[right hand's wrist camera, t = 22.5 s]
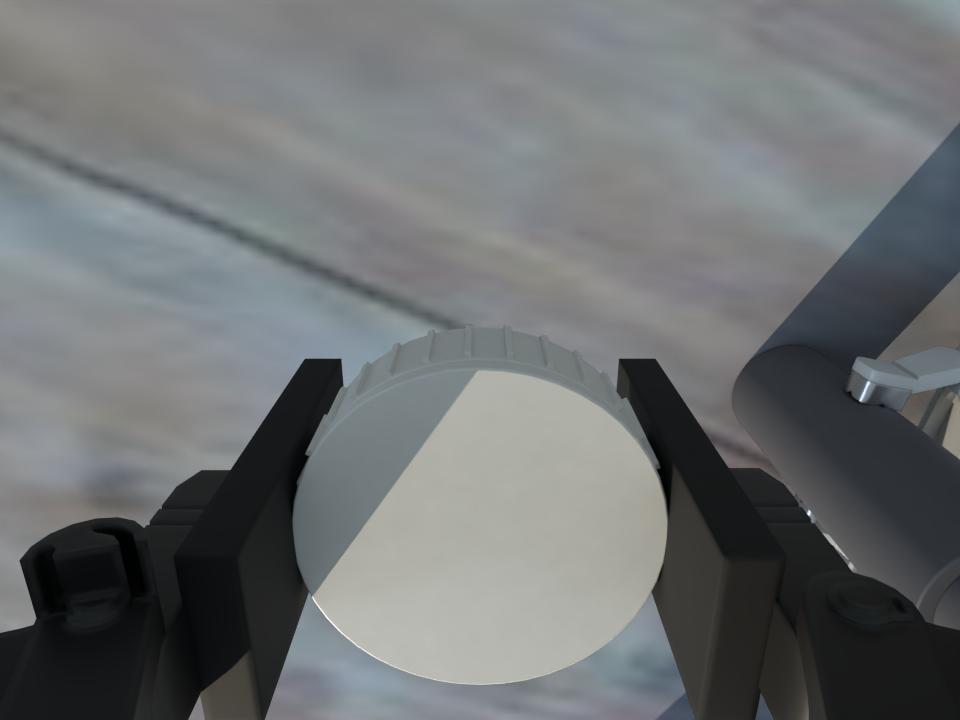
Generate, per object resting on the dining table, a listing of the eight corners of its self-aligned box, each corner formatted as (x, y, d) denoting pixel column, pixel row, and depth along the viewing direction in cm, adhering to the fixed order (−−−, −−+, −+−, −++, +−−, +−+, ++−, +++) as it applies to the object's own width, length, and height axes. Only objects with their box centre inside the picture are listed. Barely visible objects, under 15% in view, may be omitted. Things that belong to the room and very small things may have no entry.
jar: (847, 412, 35) (1158, 681, 19) (750, 453, 36) (970, 743, 20) (818, 327, 34) (1133, 543, 17) (717, 371, 34) (928, 616, 18)
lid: (245, 483, 12) (207, 545, 11) (478, 247, 11) (477, 275, 9) (481, 662, 14) (482, 742, 12) (715, 478, 12) (754, 540, 10)
